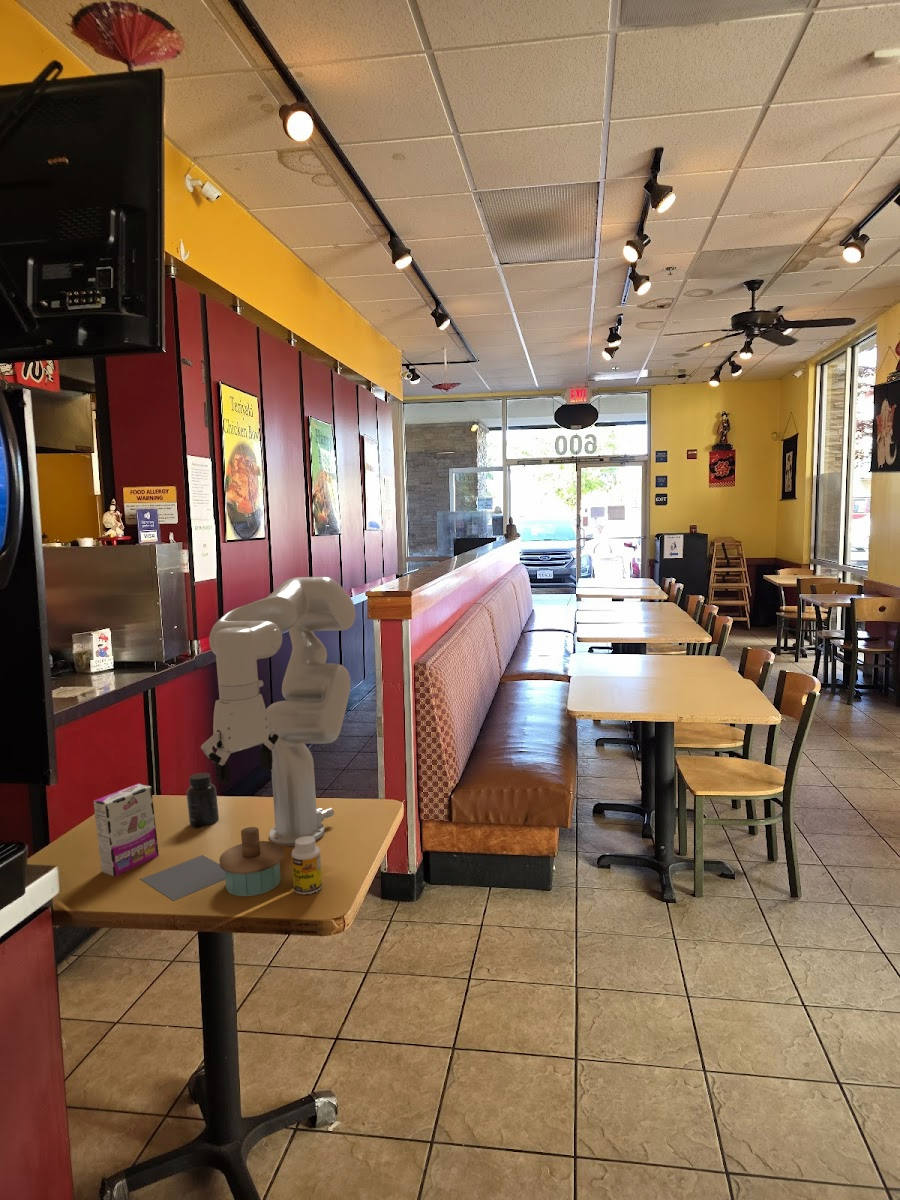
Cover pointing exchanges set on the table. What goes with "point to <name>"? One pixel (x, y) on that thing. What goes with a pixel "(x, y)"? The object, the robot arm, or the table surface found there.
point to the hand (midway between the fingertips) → (245, 775)
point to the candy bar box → (126, 829)
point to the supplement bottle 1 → (202, 801)
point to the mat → (186, 877)
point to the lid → (251, 854)
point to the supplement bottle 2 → (306, 866)
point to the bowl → (253, 881)
